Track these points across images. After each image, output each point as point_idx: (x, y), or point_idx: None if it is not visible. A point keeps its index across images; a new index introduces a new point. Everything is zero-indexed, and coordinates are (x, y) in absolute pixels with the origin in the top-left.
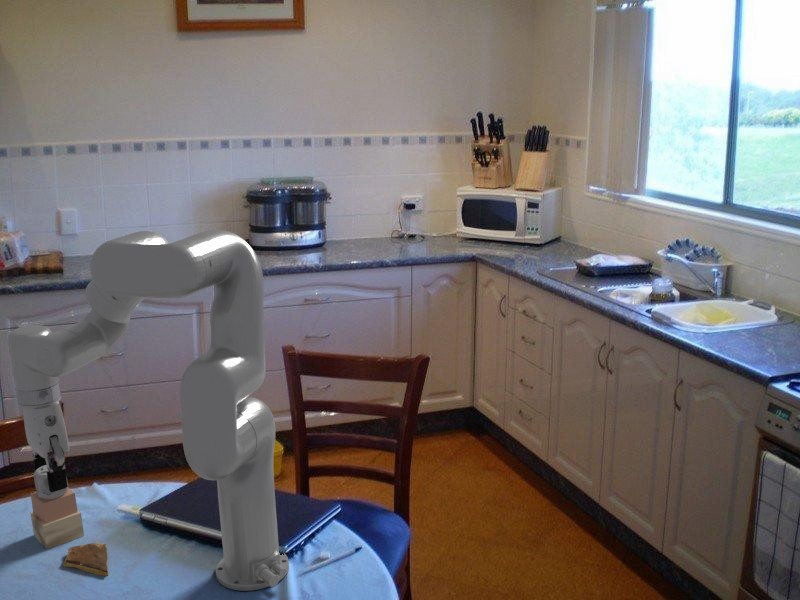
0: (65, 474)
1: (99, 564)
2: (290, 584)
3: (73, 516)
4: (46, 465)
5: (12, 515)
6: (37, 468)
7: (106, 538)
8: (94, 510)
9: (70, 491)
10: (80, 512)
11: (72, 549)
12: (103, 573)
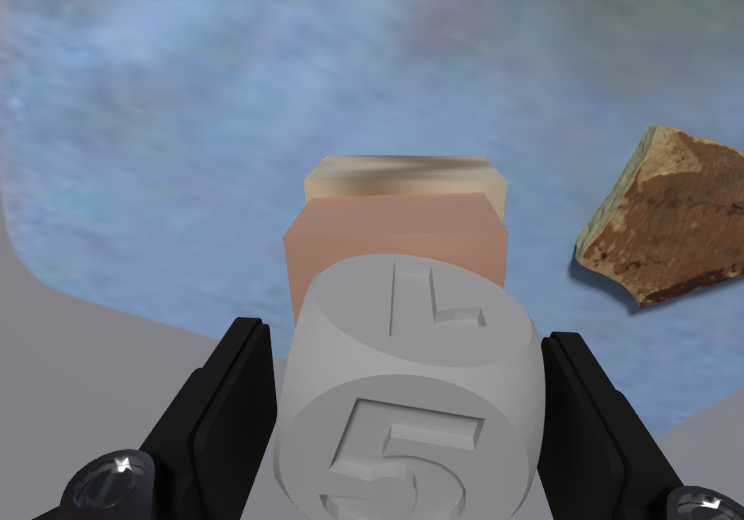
0: (622, 410)
1: None
2: None
3: (502, 222)
4: (295, 460)
5: (128, 295)
6: (251, 481)
7: (588, 89)
8: (287, 18)
9: (462, 244)
10: (502, 183)
11: (605, 257)
12: None
